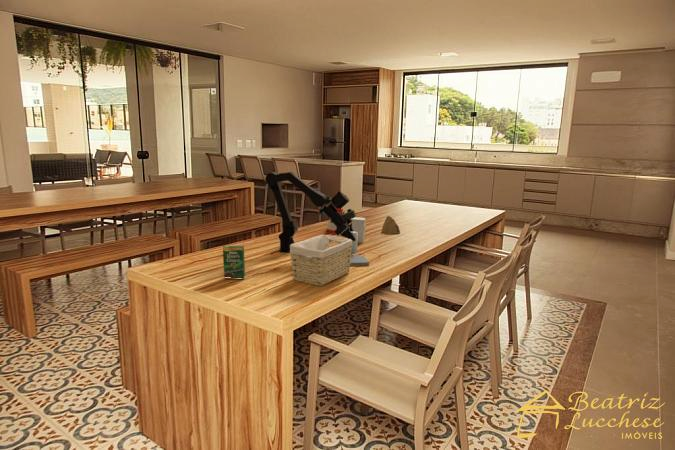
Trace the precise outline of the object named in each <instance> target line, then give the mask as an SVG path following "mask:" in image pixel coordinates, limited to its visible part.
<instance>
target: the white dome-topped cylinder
mask: <svg viewBox="0 0 675 450" xmlns="http://www.w3.org/2000/svg"><path fill="white" fill-rule="evenodd" d="M351 233H352V234H353V236H354V237H355V239H356V240H355V241H353V240H352V250H351V255H357V254H358V243H359V242H358V232H355V231H351Z"/></svg>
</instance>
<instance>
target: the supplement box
mask: <svg viewBox="0 0 675 450" xmlns="http://www.w3.org/2000/svg"><path fill="white" fill-rule="evenodd" d="M351 219H352V220H353V221H352V222H351V223H352V228H353V230H354V231H355V232H358V242H357V243H360V244H363V243H364V241H365V238H366V236H365V235H366V219H367V218H366V217H357V216H355V217H354V218H351ZM351 223H350V224H351Z"/></svg>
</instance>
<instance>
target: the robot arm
mask: <svg viewBox="0 0 675 450" xmlns="http://www.w3.org/2000/svg"><path fill="white" fill-rule="evenodd" d="M264 179H265V183H266V184H267V187H268V188H269V189H270V190H271V192H272V194H273V197H274V199H275V202H276V205H277V208H278V212H279V213H280V217H281V223H282V225H281V226H282V232H281V233H280V234H278V239H279V252H280V253H290V245H291V244H294V243H295V241H294V235H296V234H297V232H298V230H299V225H298V222H297V219H296V218H294V219H293V217H292V216H291V213H290V209H289V207H288V204H287V201H286V199H285V196H284V195H285V194H284V191H283V187H282V183H283V182H285V181H286V182H287V181H288V182H290V183H291V185H293V186H295V187H296V188H297V189H298V190H300V191H301V192H302V193H303V194H305V195H306V196H307V197H308V199H309V200H310V201H311V202H312V204H313V205H314V206H315V207H317V208H319V209H318V211H319V213H318V214H319V215H322V214H324V215H325V217H327V218H328V219H329V220H331V221H330V222H331V223H332V222H333V224H334V225H335V226H336V230H335V233H334V234H335V235H336V237H340V236H342V238H347V239H351V240H353V241H355V240H356V239H355V237H354V236H353V234H352V233H351V231H354V230H353V228H352V223H351V222H352V221H353V220H352V218H354V217H357V215H356V211H355V210H354V209H351V208H348V209H347V210H346V211H347V212H344V214H343V213H342V212H343V211H342V212H339V211H338V210H337V209H338V208H340V209H343V208H344V207H345V206H346V205H347V204H348V203H350V199H349V198H348V196H347V195H346V194H344V193H343V192H342V191H341V190H339V191H338V192H337V193H336V194H335V195H334V196H333V197H331V196H327V195H326V194H324V193H322V192H321V191H320V190H316V189H314V188H312V186H310V185H309V184H307V183H306V182H305V181H304V180H303V179H301V178H300V177H299V176H297V175H296V174H295V173H294V172H293V171H287V172H277V171H273V172H269V173H267V174H266V175H265V178H264ZM335 207H336V208H337V209H336V208H335Z"/></svg>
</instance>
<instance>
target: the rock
mask: <svg viewBox="0 0 675 450" xmlns="http://www.w3.org/2000/svg"><path fill="white" fill-rule="evenodd" d="M380 232H381V234H400V233H401V230H400V227H399V225H398V224H397V222H396V221H395V219H394V218H393V217H392V216H389V215H387V216H386V218H385V220H384V222H383V225H382V227H381V231H380Z"/></svg>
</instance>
